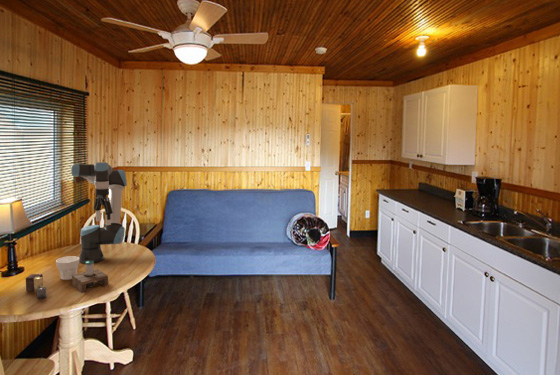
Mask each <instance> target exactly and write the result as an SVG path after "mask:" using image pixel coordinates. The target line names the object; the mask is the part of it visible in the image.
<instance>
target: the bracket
mask: <svg viewBox="0 0 560 375" xmlns="http://www.w3.org/2000/svg"><path fill="white" fill-rule="evenodd" d="M91 282H94V283H95V282H97V283H98V284H100V285H102V286H103V285H104V286H103V287H108V286H109V275H108V274H106V273H105V272H103V271H101V270H100V269H98V268H95V269H94V276H93V277H89V278H86V271H84V272H79V273H77V274H75V275H72V279H71V283H72V284H71V286H72V287H74V288H75V289H76V290H78V291H79V292H81V293H86V292H87V286H86V284H87V283H91ZM107 285H108V286H107Z"/></svg>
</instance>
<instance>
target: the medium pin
mask: <svg viewBox="0 0 560 375" xmlns="http://www.w3.org/2000/svg"><path fill="white" fill-rule="evenodd" d="M40 287H44V278H43V277H36V278H34V294H35V295H37V288H40Z"/></svg>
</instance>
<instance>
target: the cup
mask: <svg viewBox="0 0 560 375" xmlns="http://www.w3.org/2000/svg"><path fill="white" fill-rule="evenodd" d="M79 259H80V258H79V256H75V255H72V256H71V255H69V256H68V255H67V256H62V257H59V258H57V259H56V260H55V264H56V269H57V270H58V273H59V277H60V279H61V280H63V281H68V280H72V275H75V274H78V267H79V265H80V262H79Z"/></svg>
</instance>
